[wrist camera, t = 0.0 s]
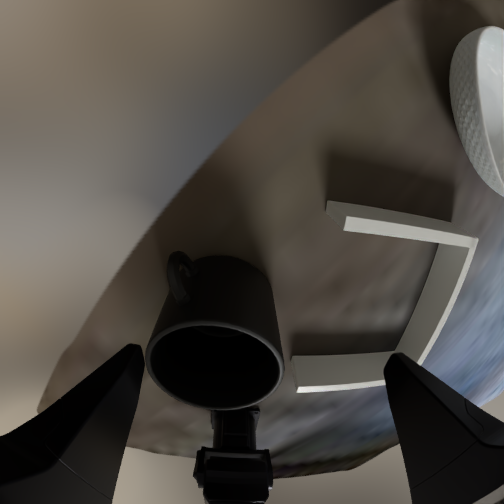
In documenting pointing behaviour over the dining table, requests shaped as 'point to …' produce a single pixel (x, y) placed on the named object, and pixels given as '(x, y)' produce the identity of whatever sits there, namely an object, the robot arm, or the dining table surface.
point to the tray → (426, 311)
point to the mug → (216, 335)
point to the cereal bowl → (481, 101)
